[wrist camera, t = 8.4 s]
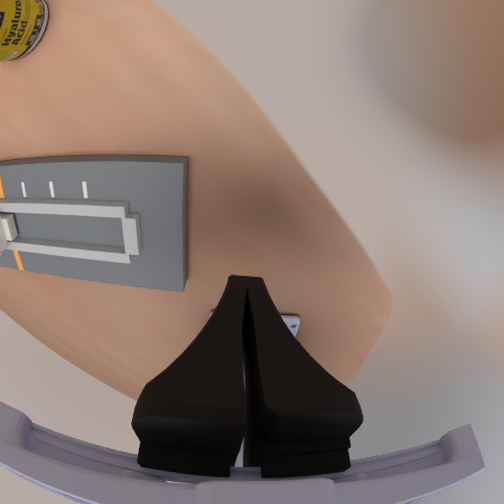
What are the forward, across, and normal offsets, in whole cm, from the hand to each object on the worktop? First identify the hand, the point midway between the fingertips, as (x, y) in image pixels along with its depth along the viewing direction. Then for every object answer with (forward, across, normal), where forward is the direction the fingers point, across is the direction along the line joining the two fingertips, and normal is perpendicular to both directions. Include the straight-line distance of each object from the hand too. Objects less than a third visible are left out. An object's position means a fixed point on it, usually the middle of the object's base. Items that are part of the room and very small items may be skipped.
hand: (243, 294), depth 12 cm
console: (+9, +15, +2) cm, 18 cm away
